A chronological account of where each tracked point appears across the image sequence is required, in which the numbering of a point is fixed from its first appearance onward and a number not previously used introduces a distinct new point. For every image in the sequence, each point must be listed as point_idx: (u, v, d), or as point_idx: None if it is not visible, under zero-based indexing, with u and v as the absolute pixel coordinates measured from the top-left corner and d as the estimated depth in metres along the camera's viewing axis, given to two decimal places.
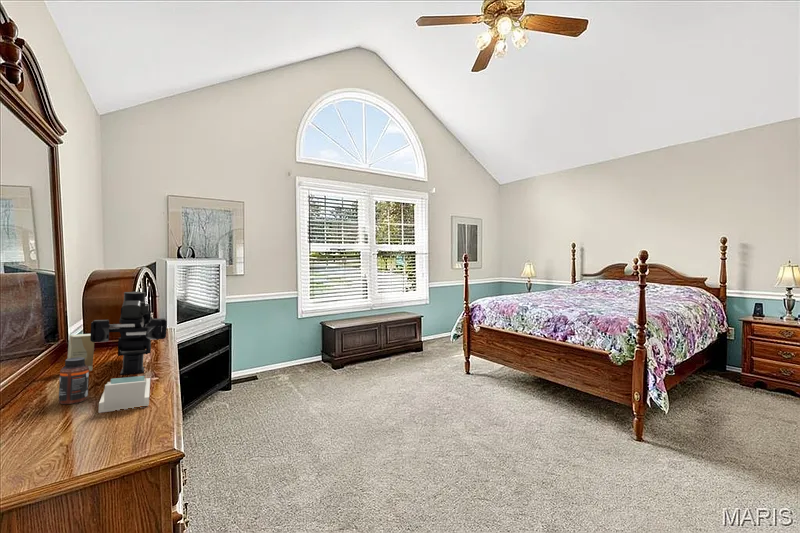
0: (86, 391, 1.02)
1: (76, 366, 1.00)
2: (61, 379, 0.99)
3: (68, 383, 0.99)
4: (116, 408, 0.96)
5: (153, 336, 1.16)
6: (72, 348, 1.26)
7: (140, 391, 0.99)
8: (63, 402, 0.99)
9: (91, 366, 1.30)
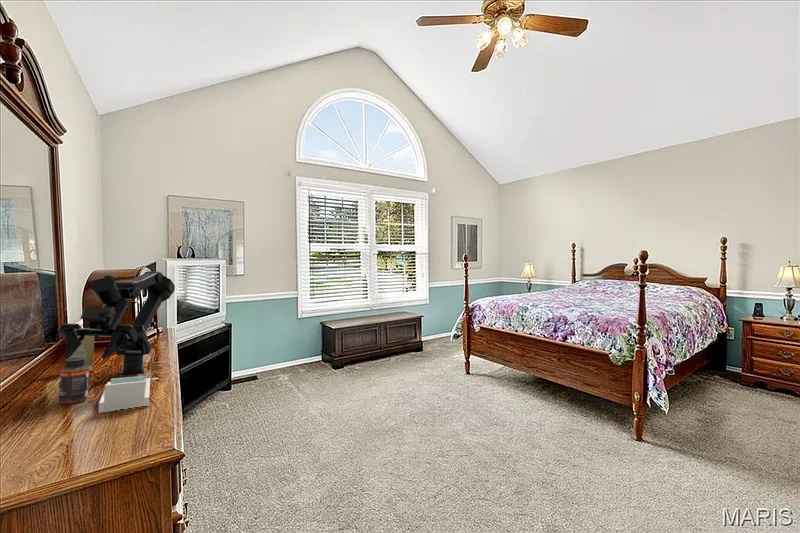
0: (86, 391, 1.02)
1: (76, 366, 1.00)
2: (61, 379, 0.99)
3: (68, 383, 0.99)
4: (116, 408, 0.96)
5: (118, 347, 1.10)
6: None
7: (140, 391, 0.99)
8: (63, 402, 0.99)
9: (91, 366, 1.30)
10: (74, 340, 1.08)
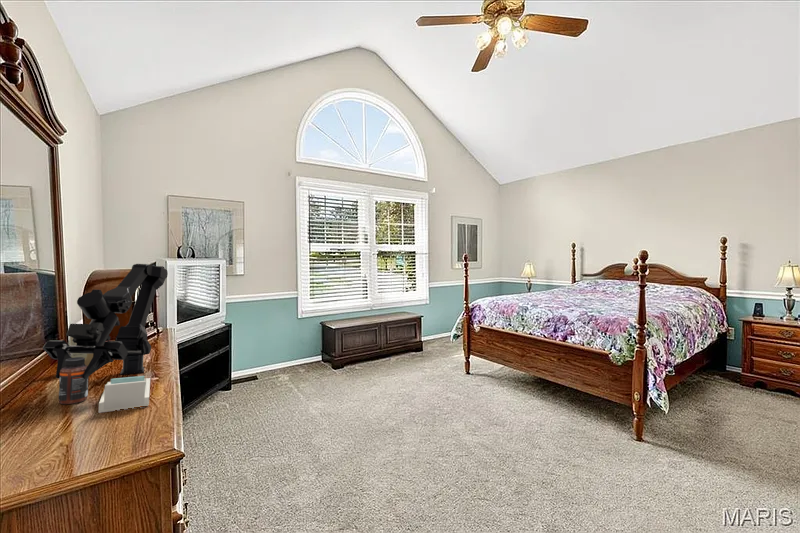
0: (86, 391, 1.02)
1: (76, 366, 1.00)
2: (61, 379, 0.99)
3: (68, 383, 0.99)
4: (116, 408, 0.96)
5: (100, 365, 1.05)
6: None
7: (140, 391, 0.99)
8: (63, 402, 0.99)
9: None
10: (66, 358, 1.03)
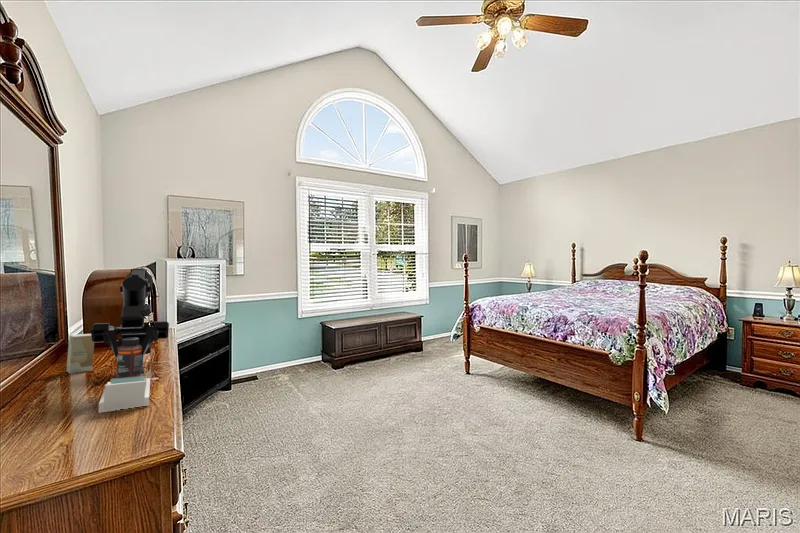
0: (141, 367, 1.12)
1: (135, 345, 1.09)
2: (123, 357, 1.07)
3: (130, 360, 1.07)
4: (116, 408, 0.96)
5: (149, 344, 1.15)
6: (72, 348, 1.26)
7: (140, 391, 0.99)
8: None
9: (91, 366, 1.30)
10: (116, 339, 1.10)
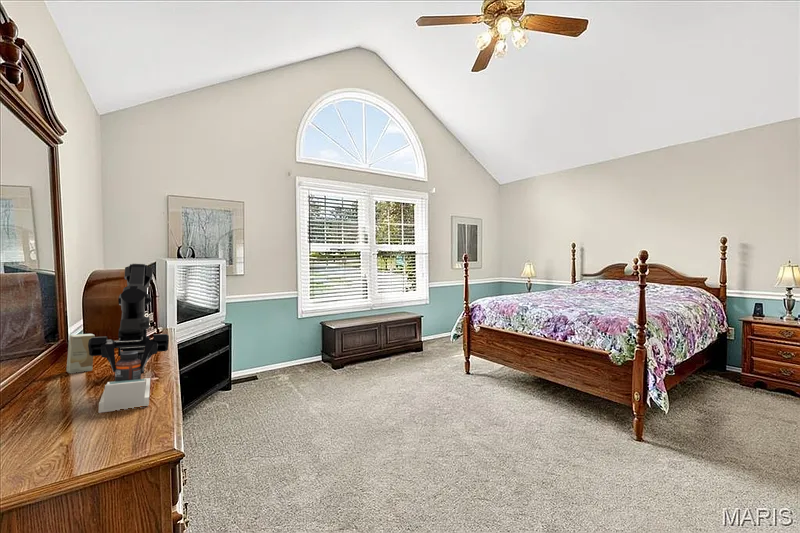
0: None
1: (134, 359, 1.06)
2: (121, 372, 1.03)
3: (129, 375, 1.04)
4: (116, 408, 0.96)
5: (148, 357, 1.11)
6: (72, 348, 1.26)
7: (140, 391, 0.99)
8: None
9: (91, 366, 1.30)
10: (114, 353, 1.06)
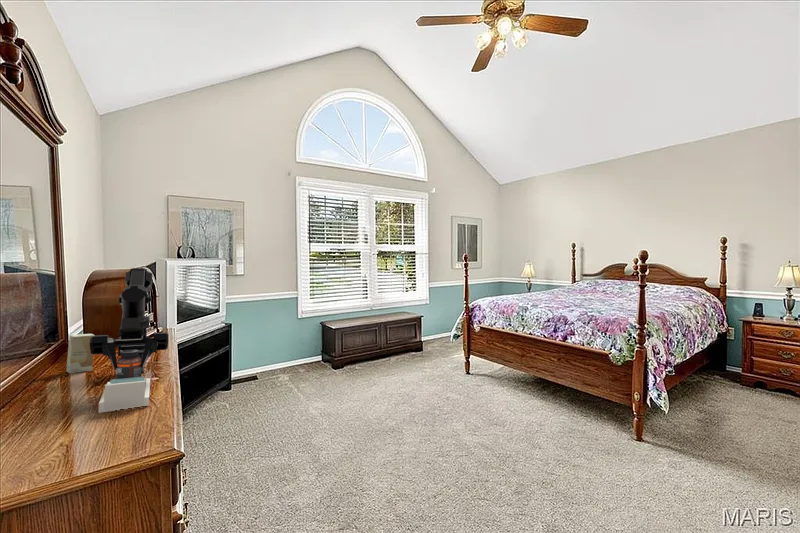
0: None
1: (134, 357, 1.08)
2: (122, 370, 1.06)
3: (130, 373, 1.06)
4: (116, 408, 0.96)
5: (149, 355, 1.13)
6: (72, 348, 1.26)
7: (140, 391, 0.99)
8: None
9: (91, 366, 1.30)
10: (115, 351, 1.08)
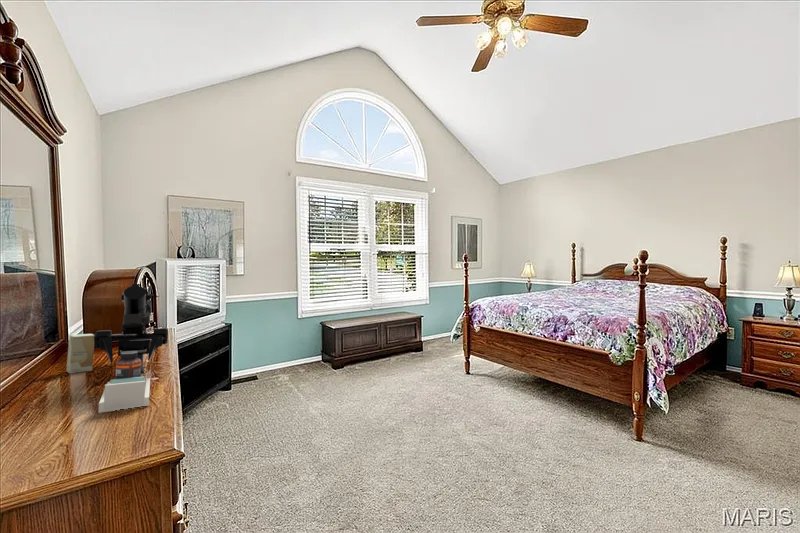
0: None
1: (134, 358, 1.08)
2: (121, 371, 1.06)
3: (129, 374, 1.06)
4: (116, 408, 0.96)
5: (155, 349, 1.21)
6: (72, 348, 1.26)
7: (140, 391, 0.99)
8: None
9: (91, 366, 1.30)
10: (111, 345, 1.15)
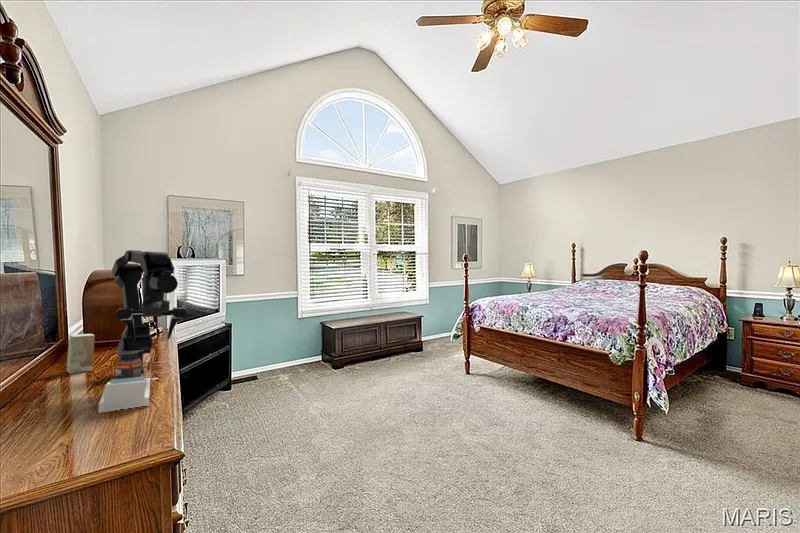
0: None
1: (134, 358, 1.08)
2: (122, 371, 1.06)
3: (129, 374, 1.06)
4: (116, 408, 0.96)
5: None
6: (72, 348, 1.26)
7: (140, 391, 0.99)
8: None
9: (91, 366, 1.30)
10: (133, 323, 1.18)
